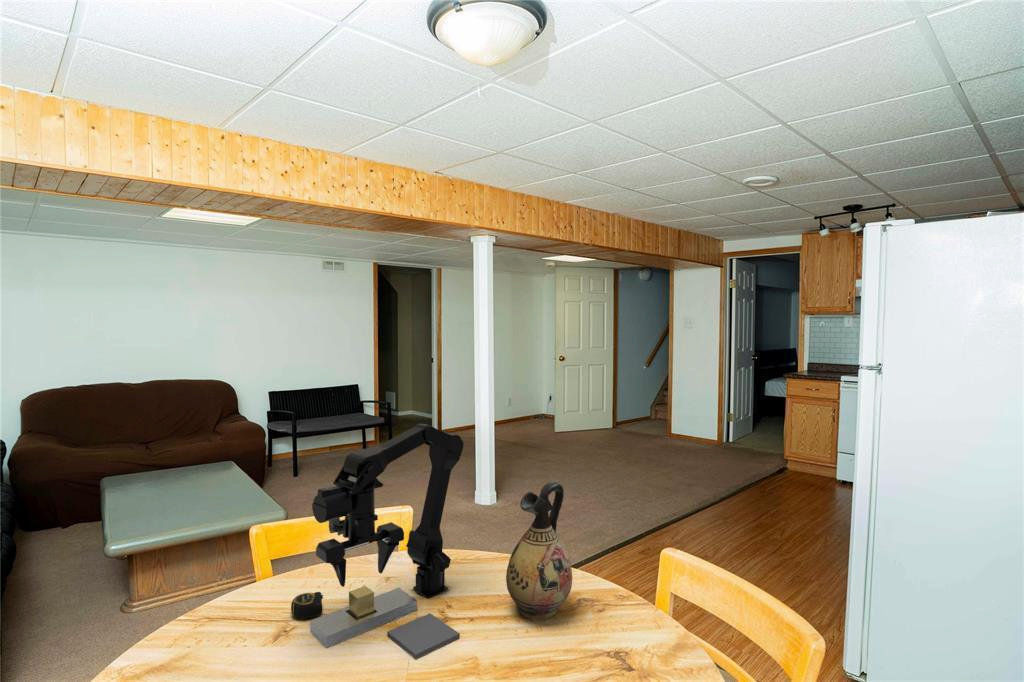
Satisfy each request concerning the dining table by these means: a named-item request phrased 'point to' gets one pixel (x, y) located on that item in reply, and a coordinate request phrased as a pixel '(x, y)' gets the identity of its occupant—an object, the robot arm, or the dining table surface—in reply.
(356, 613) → the brass block
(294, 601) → the tape measure
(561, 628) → the dining table surface
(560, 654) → the dining table surface
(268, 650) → the dining table surface
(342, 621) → the metal plate
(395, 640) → the rubber mat
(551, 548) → the ceramic jug
